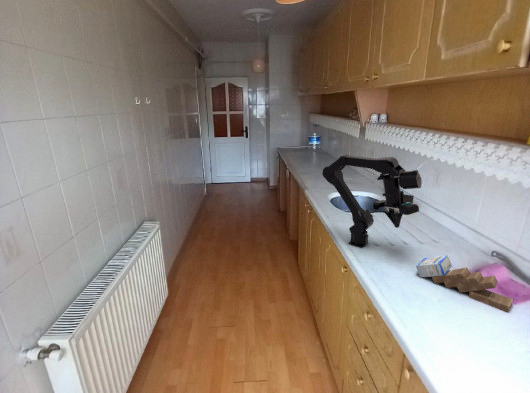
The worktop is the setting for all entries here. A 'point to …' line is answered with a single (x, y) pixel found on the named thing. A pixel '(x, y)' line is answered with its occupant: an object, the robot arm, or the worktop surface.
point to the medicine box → (434, 266)
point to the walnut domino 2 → (466, 280)
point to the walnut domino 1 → (452, 275)
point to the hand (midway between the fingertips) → (397, 227)
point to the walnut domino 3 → (480, 285)
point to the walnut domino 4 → (492, 299)
